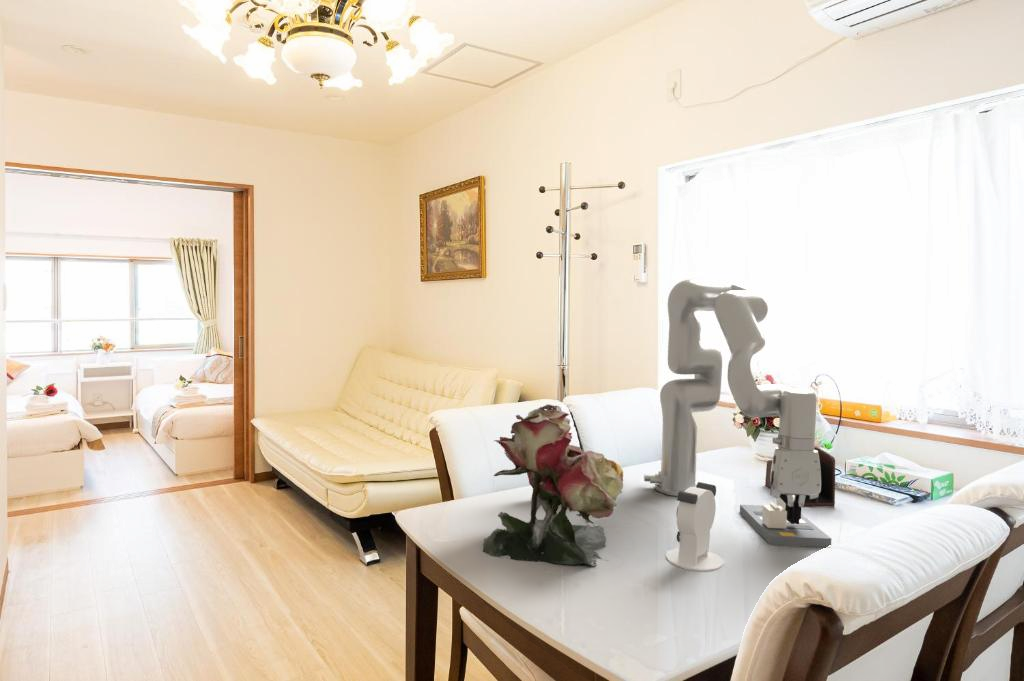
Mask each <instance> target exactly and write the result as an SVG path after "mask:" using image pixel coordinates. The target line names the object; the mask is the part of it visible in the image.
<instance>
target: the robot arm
mask: <svg viewBox="0 0 1024 681" xmlns="http://www.w3.org/2000/svg"><path fill="white" fill-rule="evenodd" d="M767 303H768V302H767V300H766V298H765V297H764V296H763V295H762V294H761V293H759V292H758V291H755V290H753V289H750V288H747V287H745V286H742V285H739V284H736V283H734V282H730V281H727V280H719V279H705V278H704V279H703V278H702V279H701V278H699V279H698V278H694V279H693V278H692V279H686V280H685V279H684V280H682V281H680V282H678V283H676V284H675V285H674V286H673V287H672V289H671V291H670V292H669V294H668V298H667V313H668V322H669V323H668V325H669V326H668V340H667V343H668V344H667V345H668V346H667V365H668V369H669V370H670V371H671V372H672V373H674V374H675V375H683V376H684V375H694V378H683V379H682V378H679V379H678V378H677V379H673V380H670V381H667V382H666V383H665V384H664V385H663V386H662V387H661V389H660V394H659V398H660V405H661V406H660V407H661V414H662V434H661V435H662V437H661V439H662V441H661V466H660V470H658V473H655V474H652V475H651V474H643V481H644V482H648V483H650V484H654V489H655V490H656V491H657V492H658V493H659V492H660V493H661V494H665V495H668V496H673V497H674V496H675V497H678V493H679V491H683V492H684V491H685V490H686V489H688V488H689V487H696V486H697V484H696V479H697V478H696V476H697V473H696V472H697V453H698V427H697V423H696V421H695V418H694V416H693V413H702V412H710V411H712V410H714V409H715V408H716V407H717V406H718V405H719V402H720V399H721V391H722V376H723V375H722V374H723V373H722V372H723V356H722V352H721V350H720V348H719V347H718V345H717V344H715V343H714V342H712V341H710V340H701V331H702V330H701V323H700V320H699V318H698V317H699V316H698V315H697V314H696V313H695V312H697V311H700V312H701V311H702V312H703V311H705V312H713V313H714V314H715V316H716V317H715V318H716V319H717V321H718V324H719V327H720V329H721V332H722V334H723V337H724V339H725V340H726V344H727V346H728V349H729V351H730V359H729V362H728V364H727V365H728V366H727V383H728V387H729V390H730V393H731V395H732V397H733V399H734V402H735V403H736V404H735V405H736V406H737V408H738V409H739V410H740V412H741V413H742V414H744V415H745V416H747V417H748V418H766V417H767V418H768V417H779V425H778V429H779V430H778V434H777V437H773V438H772V444H774V445H775V444H776V445H777V446H776V447H775V449H774V453H773V455H772V456H773V457H772V459H771V460H772V466H771V474H770V486H771V488H770V490H769V495H770V496H771V497H774V498H781V499H782V500H783V501H784V503H786V507H785V510H786V511H787V520H788V521H789V522H790V523H791V524H794V523H796V524H799V519H801V514H802V508H803V507H805V506H804V503H806V502H807V501H808V500H809V499H813V498H817V497H818V496H819V495H818V494H819V493H820V491H821V469H820V460H819V454H818V451H817V450H814V446H815V442H816V440H815V439H816V422H817V421H816V419H817V402H818V401H817V400H818V399H817V395H816V393H815V392H813V391H812V390H809V389H803V388H793V387H790V386H788V385H784V384H759V385H758V384H757V383H756V381H755V378H754V375H753V373H752V368H751V360H752V359H753V356H754V355H756V354H757V353H759V352H760V351H761V350H763V348H764V347H765V345H766V339H765V337H764V335H763V332H762V331H761V328H760V326H759V324H758V323H761V322H762V321H764V320H765V319H766V318H767V317H766V316H767V314H768V309H769V308H768V304H767ZM793 495H795V497H794V502H793Z"/></svg>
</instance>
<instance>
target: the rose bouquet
mask: <svg viewBox="0 0 1024 681" xmlns="http://www.w3.org/2000/svg"><path fill="white" fill-rule="evenodd" d="M567 416H568V417H569V416H570V414H569V412H565V411H562V406H558V405H553V404H546V405H544V406H540V407H538V408H536V409H533V410H531V411H529V412H528V414H527V416H526V417H522V416H521V415H520V414H517V415H515V418H516V419H517V420H519V421H515V422H513V424H512V425H511V431H510V434H512V435H511V437H510V438H509V437H506V436H500V437H499V439H498V440H497V439H496V440H494V441H493V442H496V443H498V444H499V445H500V446H501V447H502V448H503V449H504V454H505V456H506V458H508V460H509V461H510V462H512V464H513V465H514V466H515V467H514V468H512V469H503V470H500V471H497V472H496V473H494V475H493V477H499V476H520V475H522V474H527V478H528V484H529V485H530V486H531V487H532V492H531V493H532V494H531V500H530V519H529V521H528V522H527V521H525V520H522V519H520V518H518V517H515V516H513V515H510V514H509V513H507V512H504V511H501V512H499V513H498V514H497V516H498V518H499V519H500V520H501V525H502V526H503V527H505V529H502V528H499V527H497V528H495V530H493V531H492V532H491V534H490V535H489V536H487V537H484V539H483V548H482V553H484V554H487V555H488V556H491V557H496V558H502V559H503V557H506V556H508V557H509V559H510V560H514V561H525V562H526V561H527V562H535V563H537V562H551V563H554V564H560V565H567V566H568V565H569V566H577V565H581V564H586V565H589V566H591V567H592V566H593V567H596V566H597V560H600V561H604V559H603V558H602V557H601V556H600V555H599V554H598V553H597V552H596V550H599V549H602V548H606V542H607V539H606V536H605V535H606V534H605V529H604V527H603V526H601V525H595V524H594V522H593V521H592V520H591V519H590V516H591V517H592V518H594V519H600V520H601V519H602V518H605V517H610V516H611V515H612V514H613V511H614V507H617V506H618V502H617V499H618V496H619V495H620V494H621V493H623V491H622V490H623V488H624V477H623V478H622V477H621V476H619V475H617V472H616V471H615V469H614V468H611V467H612V464H611V462H610V461H609V460H610V459H607V458H606V457H605V455H604V454H603V453H600V452H595V451H593V450H591V449H590V450H587V451H584V450H583V449H581V446H578V445H574V444H570V443H571V442H572V439H573V436H572V435H573V434H572V432H570V431H571V428H572V427H571V425H570V422H571V419H570V418H568V417H567ZM540 507H541V508H542V509H543V511H544V513H545V516H544V517H543V519H538V518H537V512H538V510H539V508H540ZM559 507H560V508H561V509H560V510H559ZM558 510H559V511H558ZM567 510H569V513H571V512H578V513H577V514H575V515H576V516H577V517H581V518H582V519H583V520H584V521H585V524H587V525H582V524H572V522H571V521H570V520H569V518H568V516H567V513H566V512H567ZM557 512H558V513H557ZM588 523H590V524H592V525H594V526H591V525H589V524H588ZM505 559H508V558H507V557H506V558H505ZM605 560H606V562H609V560H607V559H605Z"/></svg>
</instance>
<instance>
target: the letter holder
mask: <svg viewBox="0 0 1024 681" xmlns="http://www.w3.org/2000/svg"><path fill="white" fill-rule="evenodd" d="M814 450H817V451H818V454H819V460H820V469H821V491H820V493H819V494H818V495H819V496H818V497H817V498H813V499H809V500H808V501H807V502H806V503H804V506H803V507H811V506H834V507H835V504H836V501H835V500H836V459H835V457H834V456H832V455H831V454H830V453H828V451H825V450H823V449H821V448H820V447H817V446H815V445H814ZM772 460H773V459H768V460H767V461H766V470H765V471H766V472H765V478H764V480H765V482H764V484H765V486H766V487H768V488H769V489H771V486H770V474H771V466H772Z"/></svg>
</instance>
